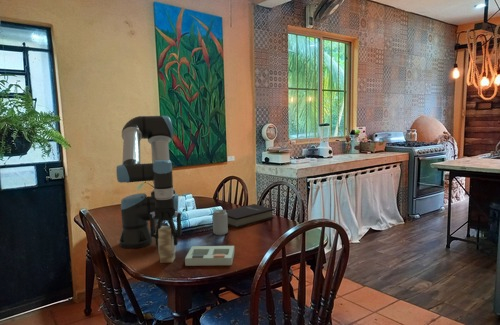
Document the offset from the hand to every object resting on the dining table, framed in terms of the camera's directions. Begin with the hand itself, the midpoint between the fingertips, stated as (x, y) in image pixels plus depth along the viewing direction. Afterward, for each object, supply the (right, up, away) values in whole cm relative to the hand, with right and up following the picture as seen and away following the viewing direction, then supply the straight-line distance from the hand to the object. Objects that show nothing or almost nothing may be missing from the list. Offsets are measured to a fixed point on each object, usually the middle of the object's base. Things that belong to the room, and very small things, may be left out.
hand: (167, 252), depth 144 cm
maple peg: (0, -3, 0) cm, 3 cm away
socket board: (+18, -3, +1) cm, 18 cm away
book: (+32, +4, +58) cm, 66 cm away
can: (+19, +1, +33) cm, 39 cm away
